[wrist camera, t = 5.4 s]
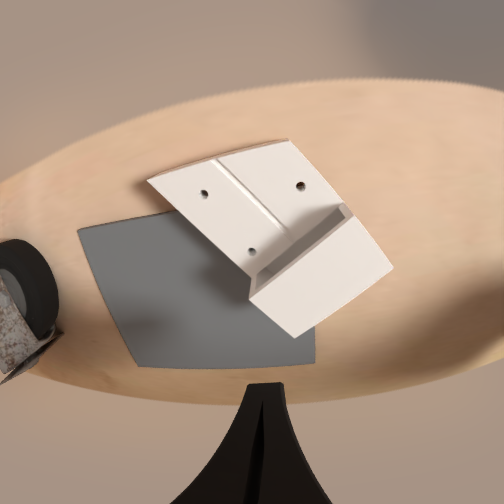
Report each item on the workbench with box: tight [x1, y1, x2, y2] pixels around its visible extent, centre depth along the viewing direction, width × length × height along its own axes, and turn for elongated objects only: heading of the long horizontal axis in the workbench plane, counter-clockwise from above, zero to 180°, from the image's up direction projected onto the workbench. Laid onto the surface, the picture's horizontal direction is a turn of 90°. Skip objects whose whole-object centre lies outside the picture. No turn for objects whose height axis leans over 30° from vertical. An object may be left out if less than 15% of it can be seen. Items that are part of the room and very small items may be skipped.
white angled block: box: [147, 138, 394, 338], centre depth 13 cm, size 4×10×9 cm
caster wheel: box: [0, 239, 64, 385], centre depth 17 cm, size 7×11×10 cm
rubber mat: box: [78, 210, 315, 369], centre depth 18 cm, size 14×12×1 cm
